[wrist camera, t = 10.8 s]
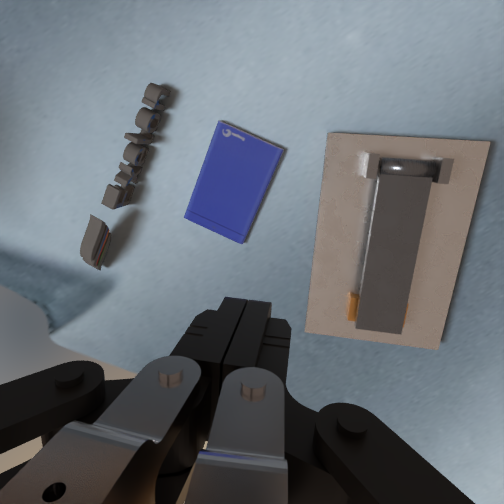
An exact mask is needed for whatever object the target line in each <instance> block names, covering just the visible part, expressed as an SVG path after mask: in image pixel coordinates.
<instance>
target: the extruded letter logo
mask: <svg viewBox="0 0 504 504" xmlns="http://www.w3.org/2000/svg"><path fill="white" fill-rule="evenodd" d="M161 95H166V96H169V95H170V91H168V90H166V89H164V88H163V87H161V86H159V85H156V84H154V83H150V84H149V85H148V86H147V88H146V90H145V94H144V97H143V99H142V103H144V104H146V105H148V106H150V107H152V108H154V109H158V110H162V111H164V108H165V106H164V105H162V104H161V103H159V98H160V97H161ZM160 119H161V117H160V115H159V114H158V113H156V112H154V111H152V110H150V109H148V108H146V107H143V108H141V109H140V110H139V112H138V114H137V116H136V119H135V124H136V126H137V127H139V128H141V129H142V130H141V132H140V133H139V134H137V133H125V136H124V138H126V139H128V140H130V141H132V142H131V143H129V144H128V145H127V146H126V148H125V150H124V154H123V158H124V160H126V161H128V162H130V163H129V164H128V165H125V164H124V163H122V162H120V165H119V168H120V170H121V171H120V172H119V173H118V174H117V175H116V177H115V179H114V181H116V182H118V183H120V184H121V187H120V186H118V185H115V186H113V185H111V184H109V185H108V186H107V189H106V191H105V194H104V197H103V200H102V203H101V204H103V205H105V206H107V207H109V208H111V209H116V208H119V207H122V206H125V205H128V204H129V202H130V199H131V196H132V194H133V191H134V188H135V187H134V186H132V185H130V184H129V183H130V182H131V181H132V182H133V183H135V184H136V183H137V180H138V178H137V177H136V176H137V175H138V174H139V173H140V172H141V170H142V167H141V165H142V164H143V163H144V161H145V159H146V156H147V153H148V151H149V149H148V148H147V147H145V146H143V145H141V144H150V143H151V142H152V140H153V137H154V135H152V134H150V133H153V132H155V131H156V129H157V127H158V124H159V121H160ZM110 240H111V233H109V228H108V226H107V225H105V223H104V222H103V221H102V220H100V219H98V218H96V217H94V216H93V215H91V214H90V220H89V224H88V227H87V229H86V232H85V235H84V238H83V240H82V243H81V248H80V255H81V257H83V260H84V261H85V262H86V263H87V264H89V265H91V266H93V267H94V268H96V269H98V270H101V266H102V263H103V260H104V258H105V255H106V252H107V250H108V247H109V244H110Z"/></svg>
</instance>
